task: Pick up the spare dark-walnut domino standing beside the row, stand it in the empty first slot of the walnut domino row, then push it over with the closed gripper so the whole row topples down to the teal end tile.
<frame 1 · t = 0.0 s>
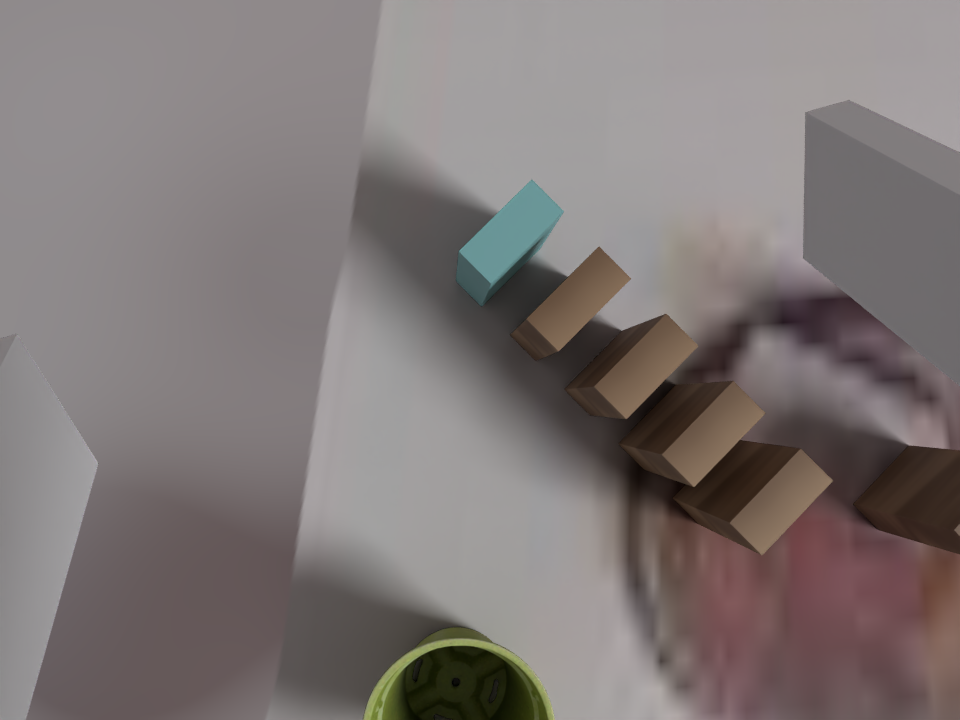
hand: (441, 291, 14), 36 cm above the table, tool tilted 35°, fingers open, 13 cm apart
plant pot: (456, 676, 49), on the table
domino 4: (606, 372, 50), on the table
domino 3: (660, 427, 50), on the table
domino 2: (714, 481, 50), on the table
domino 5: (552, 318, 50), on the table
domino 6: (498, 264, 50), on the table
domino 1: (893, 487, 51), on the table
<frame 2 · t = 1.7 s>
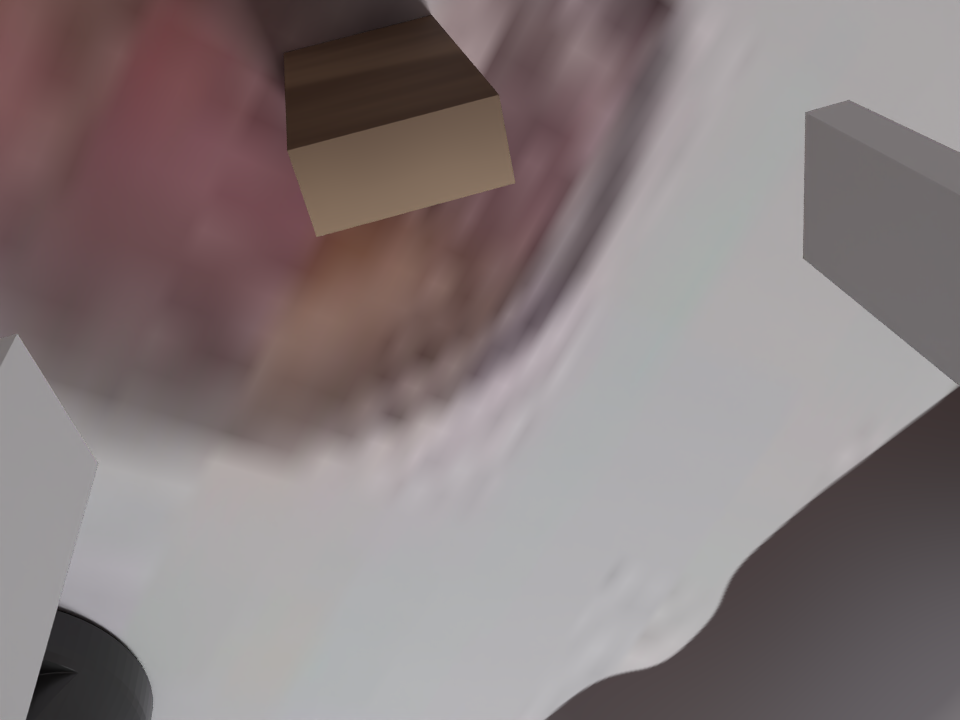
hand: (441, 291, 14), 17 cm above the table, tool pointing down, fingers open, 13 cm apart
domino 1: (367, 67, 28), on the table
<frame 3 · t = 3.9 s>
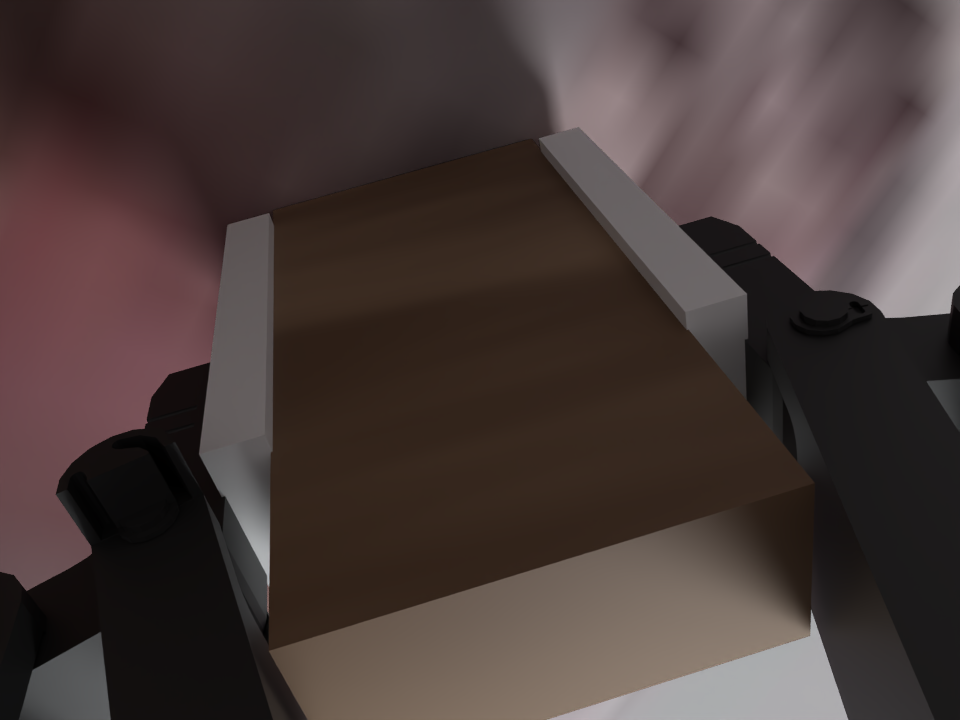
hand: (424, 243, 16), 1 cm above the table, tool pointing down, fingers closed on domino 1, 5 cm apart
domino 1: (417, 226, 16), on the table, touching gripper
when the fingers open (2 cm above the table, at t = 8.4 s): domino 1 stays where it is, on the table.
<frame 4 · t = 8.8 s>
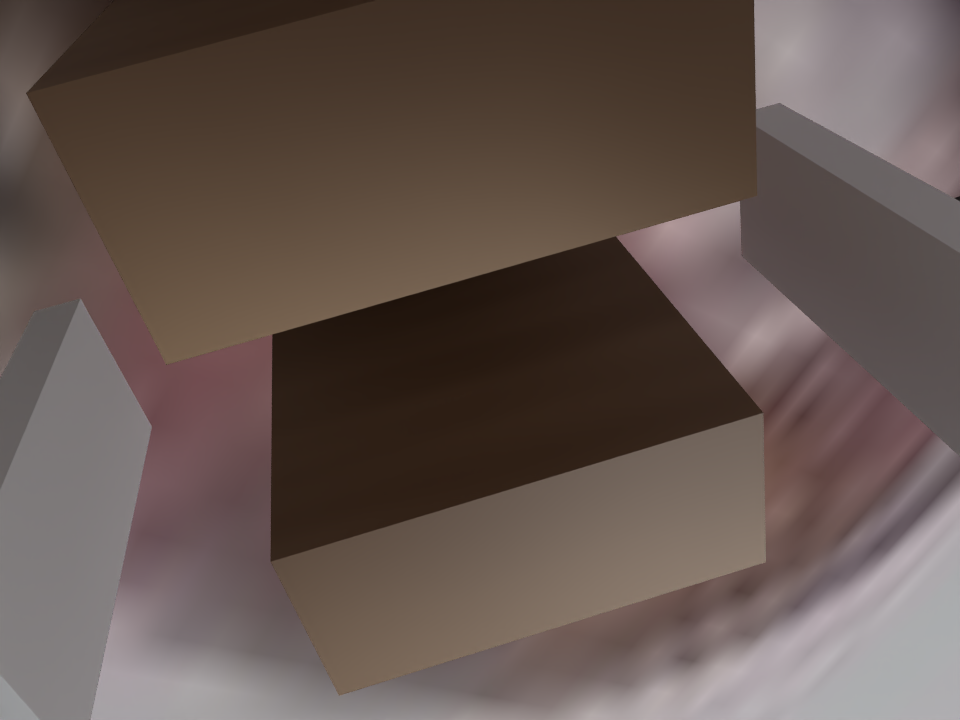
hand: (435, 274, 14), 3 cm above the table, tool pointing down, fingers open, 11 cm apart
domino 1: (411, 206, 17), on the table
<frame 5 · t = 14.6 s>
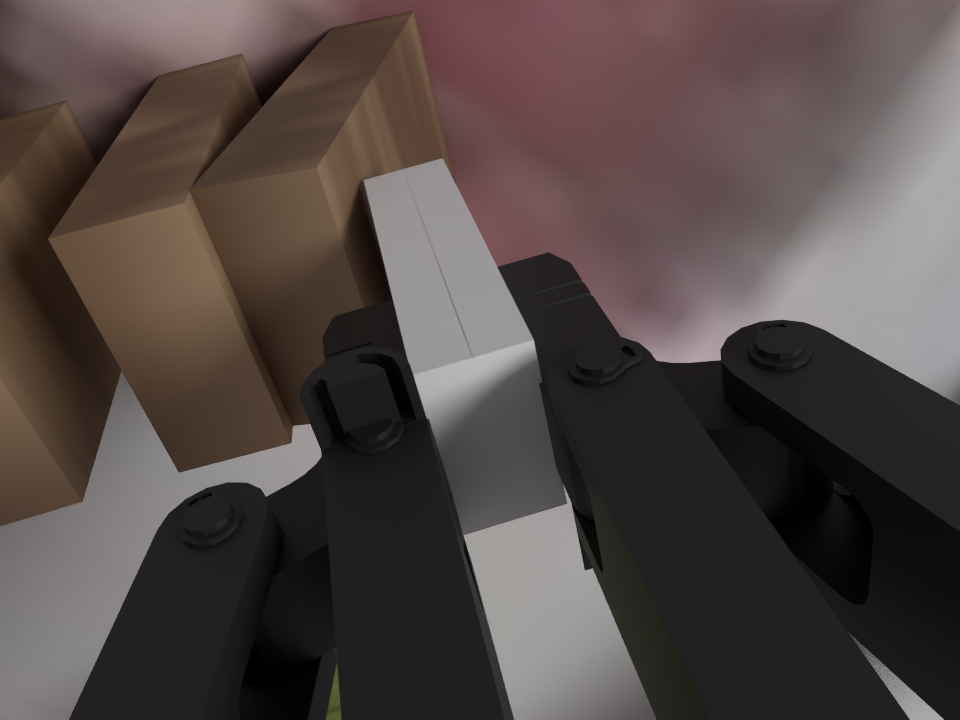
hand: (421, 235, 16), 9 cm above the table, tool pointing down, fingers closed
plant pot: (342, 620, 33), on the table
domino 3: (71, 201, 23), on the table
domino 2: (237, 156, 23), on the table, touching domino 1
domino 1: (398, 114, 23), on the table, tilted 17°, touching domino 2
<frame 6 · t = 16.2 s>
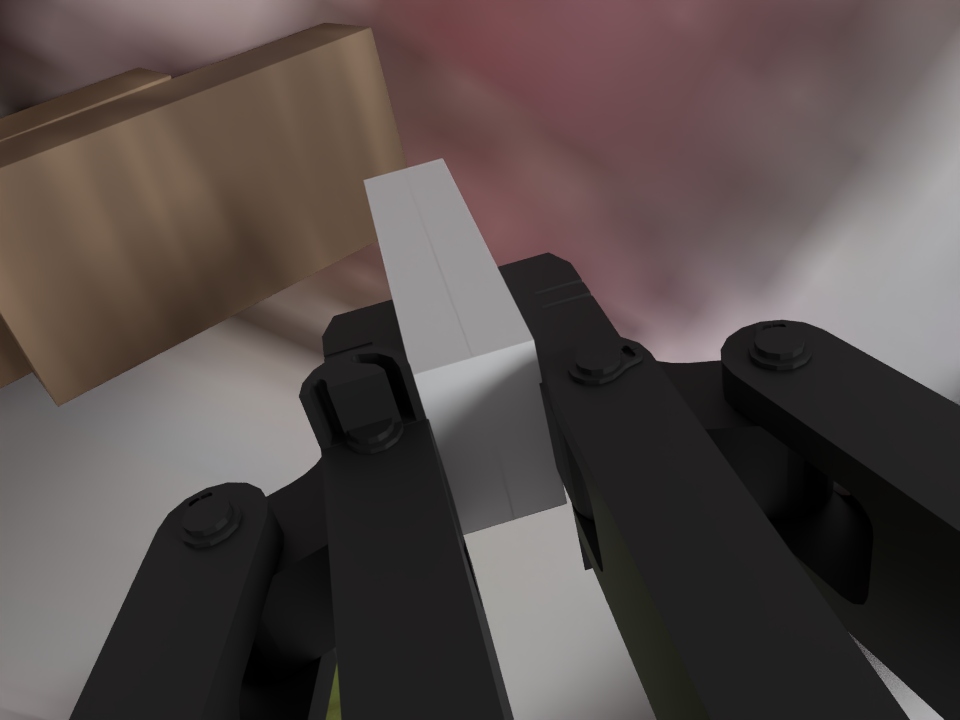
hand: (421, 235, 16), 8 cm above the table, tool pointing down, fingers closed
plant pot: (355, 613, 33), on the table
domino 2: (194, 167, 22), point 1 cm above the table, tilted 62°, touching domino 1, domino 3
domino 1: (374, 123, 22), point 1 cm above the table, tilted 62°, touching domino 2
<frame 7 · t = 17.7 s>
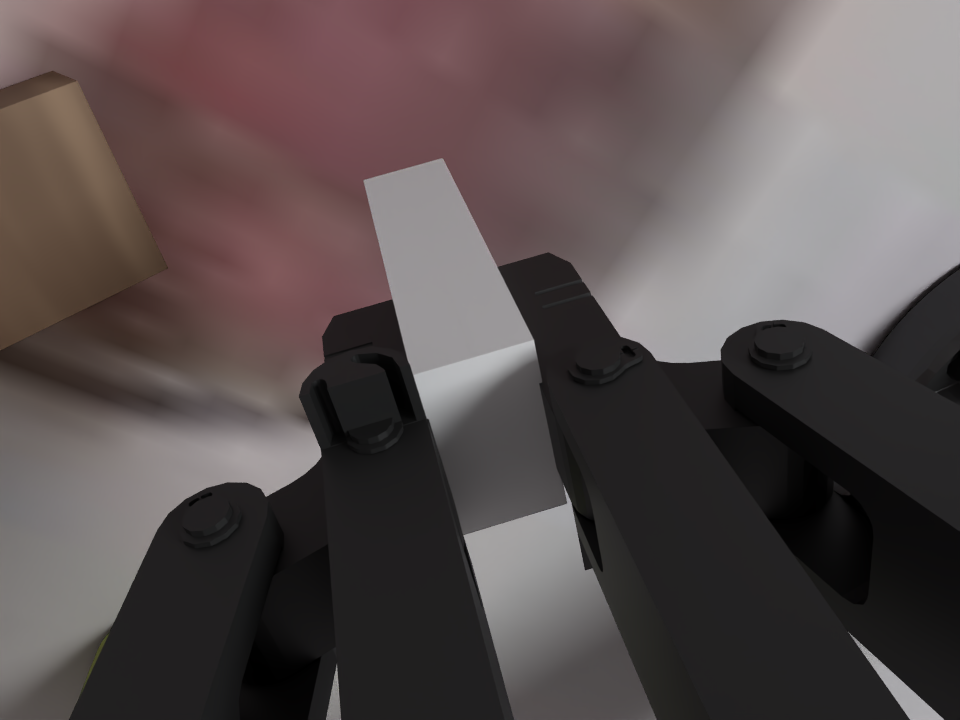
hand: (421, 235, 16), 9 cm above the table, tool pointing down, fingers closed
domino 1: (112, 172, 21), point 1 cm above the table, tilted 63°, touching domino 2
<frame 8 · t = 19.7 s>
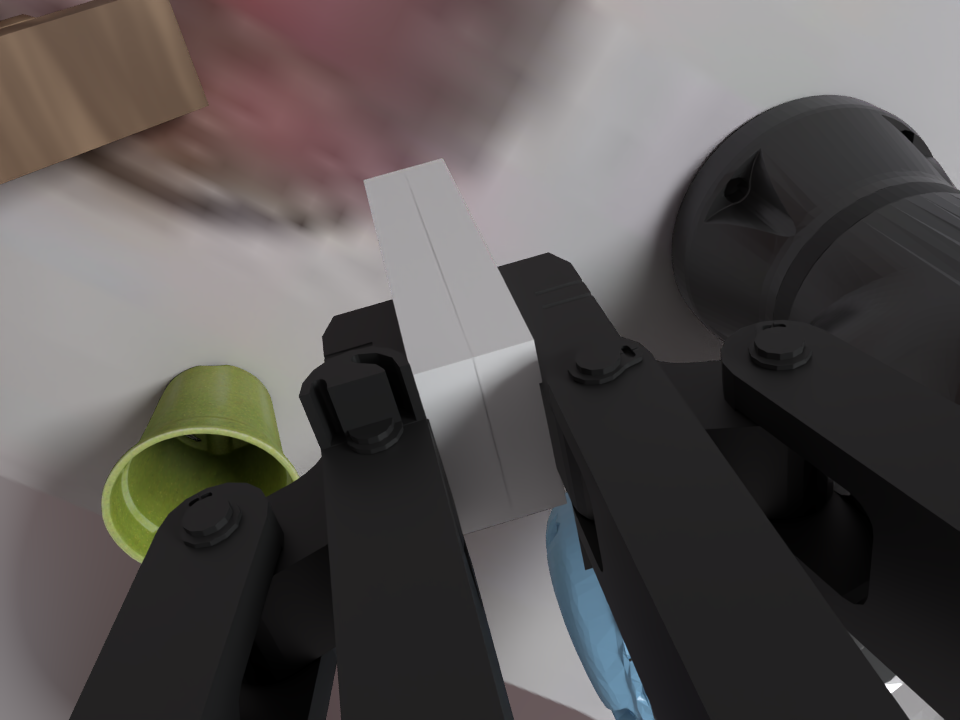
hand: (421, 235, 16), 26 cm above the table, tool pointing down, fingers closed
plant pot: (216, 404, 48), on the table
domino 1: (178, 46, 36), point 1 cm above the table, tilted 64°, touching domino 2
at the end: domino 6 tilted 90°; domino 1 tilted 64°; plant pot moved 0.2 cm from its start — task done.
